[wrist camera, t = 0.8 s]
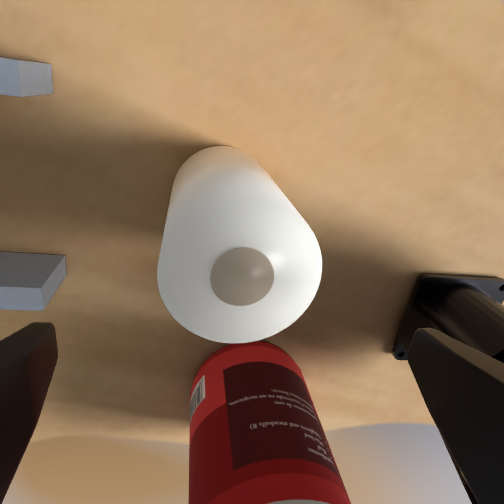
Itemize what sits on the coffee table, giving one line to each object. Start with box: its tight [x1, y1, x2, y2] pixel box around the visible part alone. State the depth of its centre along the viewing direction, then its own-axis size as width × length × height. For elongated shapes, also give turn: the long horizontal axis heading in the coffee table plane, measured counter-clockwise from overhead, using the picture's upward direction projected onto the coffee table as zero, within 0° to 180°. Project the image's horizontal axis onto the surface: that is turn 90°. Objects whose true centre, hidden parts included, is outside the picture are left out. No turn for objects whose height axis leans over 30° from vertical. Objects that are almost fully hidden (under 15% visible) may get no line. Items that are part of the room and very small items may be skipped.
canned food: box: [189, 341, 351, 504], centre depth 21 cm, size 8×8×11 cm
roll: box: [157, 146, 322, 343], centre depth 16 cm, size 5×5×9 cm
